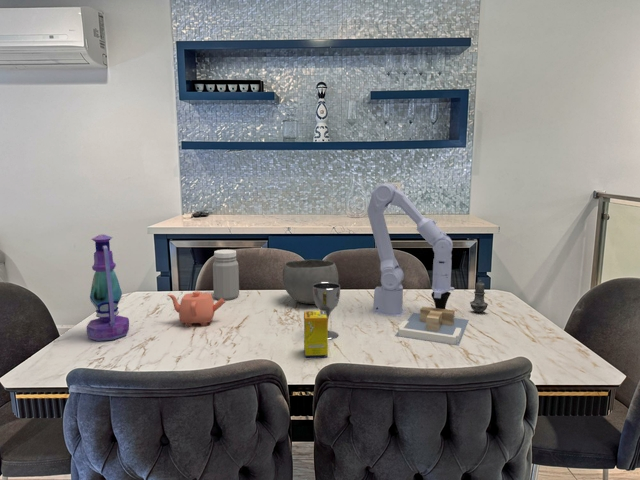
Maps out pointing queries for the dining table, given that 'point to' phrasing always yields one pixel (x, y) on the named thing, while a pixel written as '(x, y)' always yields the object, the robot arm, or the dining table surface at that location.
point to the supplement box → (315, 334)
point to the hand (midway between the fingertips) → (440, 314)
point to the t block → (436, 317)
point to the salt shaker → (479, 298)
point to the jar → (225, 275)
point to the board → (444, 329)
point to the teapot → (196, 308)
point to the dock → (428, 334)
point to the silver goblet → (327, 299)
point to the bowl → (307, 277)
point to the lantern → (105, 295)
